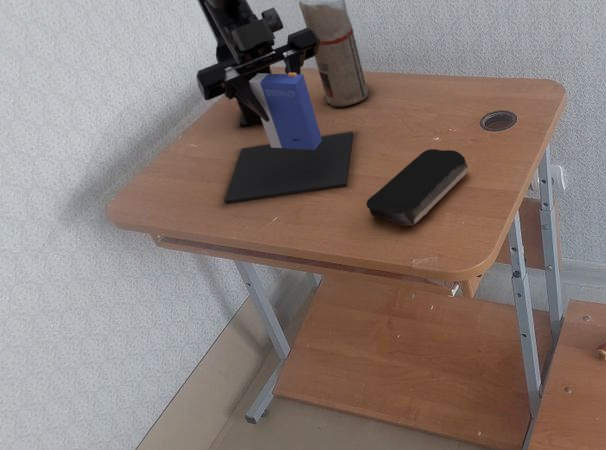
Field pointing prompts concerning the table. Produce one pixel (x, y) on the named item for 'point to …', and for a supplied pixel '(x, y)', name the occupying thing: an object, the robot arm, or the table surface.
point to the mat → (290, 169)
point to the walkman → (287, 110)
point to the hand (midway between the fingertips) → (286, 112)
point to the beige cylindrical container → (335, 51)
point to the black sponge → (418, 187)
